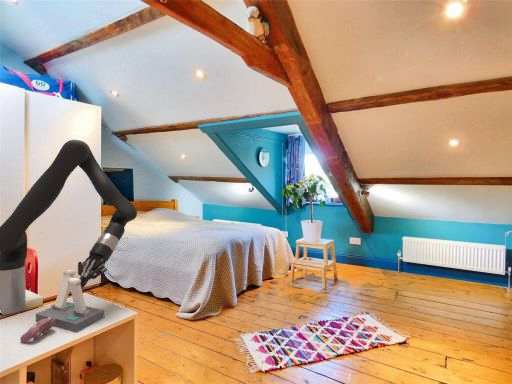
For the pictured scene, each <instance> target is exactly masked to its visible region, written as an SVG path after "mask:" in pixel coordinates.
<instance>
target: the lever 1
mask: <svg viewBox="0 0 512 384" xmlns="http://www.w3.org/2000/svg"><path fill="white" fill-rule="evenodd" d="M62 274H63V276H62V279H61V282H60V285H59V289H58V293H57V296H56V300H55V303H54V304H55V308H59V309H62V307H64V306H65V305H66V302H68V298H69V297H68V296H69V294H70V292H71V289H70V285H69V284H68V279H69V278H71V277H72V278H75V275H76V270H75V269H68V268H66V269H64V270H63V273H62Z"/></svg>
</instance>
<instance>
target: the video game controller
mask: <svg viewBox="0 0 512 384" xmlns="http://www.w3.org/2000/svg"><path fill="white" fill-rule="evenodd" d="M55 323H56V320H55V319H53V318H50V317H48V318H47V319H42V320H40V321H38V322H36V323H35V324H33V325H32V326H30V328H29V329H28V330H27V331H26V332H24V333H23V334H22V335H21V336H20V338H19V339H20V342H21V343H27V342H29V341H30V340H32V339H34V340H36V341H37V340H38V339H39V338H40V337H41V335H46V334H47V333H48V332H49V331H50V330H51V329H52V328H53V327H54V324H55Z"/></svg>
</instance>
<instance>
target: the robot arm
mask: <svg viewBox="0 0 512 384" xmlns="http://www.w3.org/2000/svg"><path fill="white" fill-rule="evenodd" d="M77 167H79V168H80V169H81V170H82V171H83V172H84V173H85V175H86V176H87V177H88V179H89V181H90V182H91V184H92V185H93V188H94V190H95V192H96V193H97V195H99V196H100V198H101V200H103V202H104V203H105V204H106V205H108V206H109V207H113V208H114V209H116V210H115V211H114V212H113V214H112V216H111V218H110V220H109V223H108V225H107V226H106V227H105V229H104V230H103V232H102V233H101V235H100V236H99V237H98V239H97V240H96V242H95V243H94V244H93V245H92V248H91V249H90V250H89V253H88V254H89V256H88V257H86V258H85V261H82V262H81V261H78V263H77V274H78V276H80V277H79V279H80V280H81V283H80V284H81V289H84V288H85V287H86V285H87V284H88V282H89V281H90V280H95V279H96V278H98V277H99V276H101V275H102V274H103V273H105V272H106V271H107V270H108V268H107V267H106V263H107V262H108V261H109V260H110V258H111V257H112V255H113V253H114V251H115V250H116V248H118V247H117V246H118V244H119V242H120V241H121V239H122V237H123V235H125V234H124V233H125V227H126V225H127V224H128V223H129V222H132V221H134V220H135V219H136V218H137V216H138V210H137V208H136V207H135V205H134V204H133V203H132V202H131V201H130V200H128V198H127V197H125V196H123V195H122V193H121V192H120V191H119V189H118V188H117V187H116V186H115V185H114V183H113V181H112V180H111V179H110V177H109V176H108V175H107V174H106V173H105V172H104V170H103V169H102V168H101V166H100V164H99V163H98V162H97V159H96V157H95V156H94V154H93V152H92V150H91V148H90V146H89V144H88V143H86V142H85V141H82V140H79V139H70V140H68V141H66V142H64V144H63V145H62V147H61V148H60V150H59V152H58V153H57V155H56V156H55V158H54V160H53V161H52V163H51V164H50V165H49V167H48V168H47V169H46V170H44V172H43V173H42V174H41V175H40V177H39V178H38V179H37V180H36V182H34V184H33V185H32V186H31V187H30V189H28V191H27V193H26V194H25V196H23V198H22V200H21V201H19V203H18V205H17V206H16V208H15V209H14V210H13V212H12V214H10V216H8V218H7V219H6V220H5V221H4V222H3V223H2V224H1V225H0V310H1V312H2V315H3V316H4V315H5V316H6V315H11V314H15V313H19V312H21V311H23V310H26V307H27V304H26V301H27V300H26V299H27V296H26V294H27V293H26V292H27V291H26V260H27V257H28V234H27V232H26V231H27V230H28V228H29V227H30V226H31V225H32V224H33V223H34V222H35V221H36V220H37V219H38V218H39V217H40V216H42V215H43V214H44V213H45V212H46V211H47V210H48V209H49V208H50V207H51V206H52V205H53V204H54V202H55V201H56V200H57V198H58V197H59V196H60V194H61V192H62V191H63V189H64V187H65V184H66V182H67V180H68V178H69V177H70V175H71V174H72V172H74V171H75V169H77Z"/></svg>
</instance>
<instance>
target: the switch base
mask: <svg viewBox="0 0 512 384" xmlns="http://www.w3.org/2000/svg"><path fill="white" fill-rule="evenodd" d="M85 306H86V310H87V311H86V312H84V314H80V313H76V310H75V306H74V302H69V301H67V302H66V305H65V306H64V307H62V309H59V308H55V303H52V304H51V307H48V308H45V309H43V310H40V311H39V312H37V313H35V322H36V323H37V322H38V321H40V320H42V319H47V318H48V317H50V318H53V319H55V320H56V323H55V324H54V326H53V327H55V328H58V329H62V330H65V331H66V330H67V331H70V332H73V333H78V332H80V331H81V330H84V329H85V328H88V327H90V326H91V325H93V324H96V323H97V322H99V321H101V320H103V319H104V318H105V310H104V309H100V308H96V307H91V306H88V305H85Z"/></svg>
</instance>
